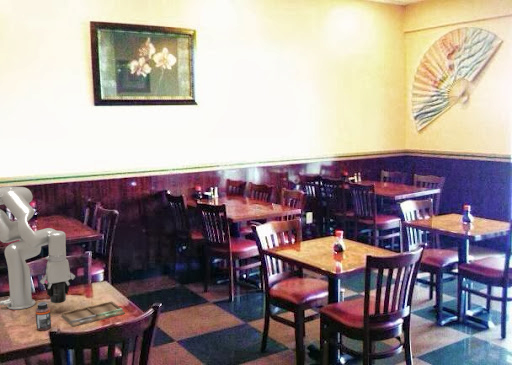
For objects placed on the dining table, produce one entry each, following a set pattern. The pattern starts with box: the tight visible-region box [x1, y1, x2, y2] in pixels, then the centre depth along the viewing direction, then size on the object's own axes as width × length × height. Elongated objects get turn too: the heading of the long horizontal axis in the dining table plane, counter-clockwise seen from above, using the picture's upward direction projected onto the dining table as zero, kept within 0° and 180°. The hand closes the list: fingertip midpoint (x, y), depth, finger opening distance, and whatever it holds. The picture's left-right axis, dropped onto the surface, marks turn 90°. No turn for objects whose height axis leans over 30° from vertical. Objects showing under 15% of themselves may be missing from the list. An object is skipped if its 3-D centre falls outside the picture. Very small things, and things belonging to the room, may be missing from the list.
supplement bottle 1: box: [35, 301, 52, 331], centre depth 234 cm, size 6×6×11 cm
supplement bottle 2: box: [49, 282, 67, 304], centre depth 252 cm, size 7×7×12 cm
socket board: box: [60, 301, 126, 328], centre depth 249 cm, size 24×15×2 cm, turn 128°
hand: (58, 294), depth 253 cm, fingers closed on supplement bottle 2, 6 cm apart
